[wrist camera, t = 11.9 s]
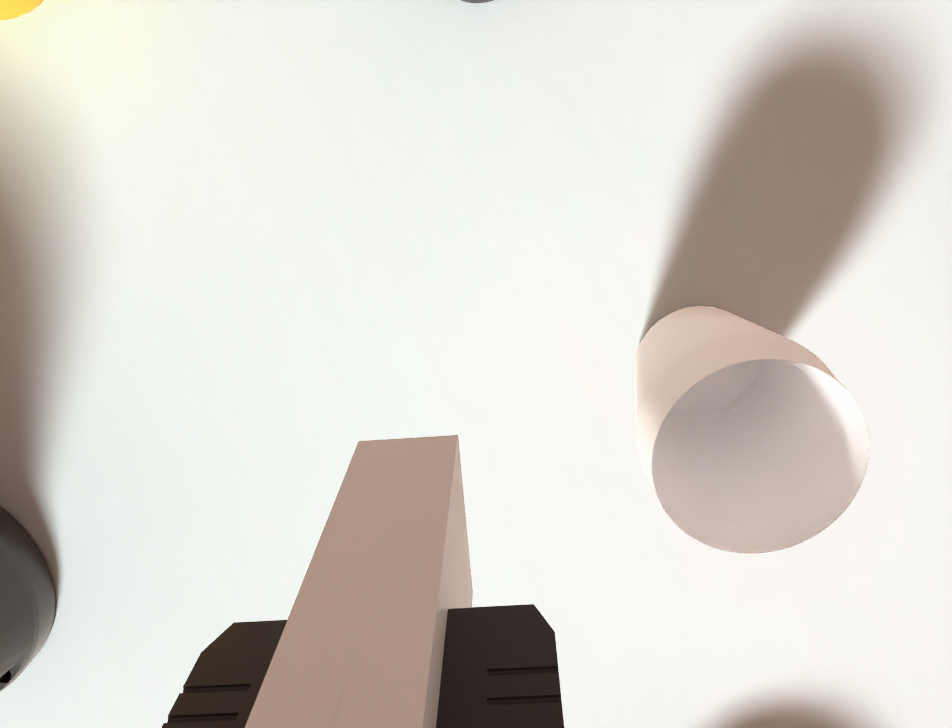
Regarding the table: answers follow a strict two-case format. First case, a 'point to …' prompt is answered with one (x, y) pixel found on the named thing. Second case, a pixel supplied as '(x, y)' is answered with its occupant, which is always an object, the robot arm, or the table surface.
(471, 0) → the post
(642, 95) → the table surface
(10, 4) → the teapot
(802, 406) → the cup
